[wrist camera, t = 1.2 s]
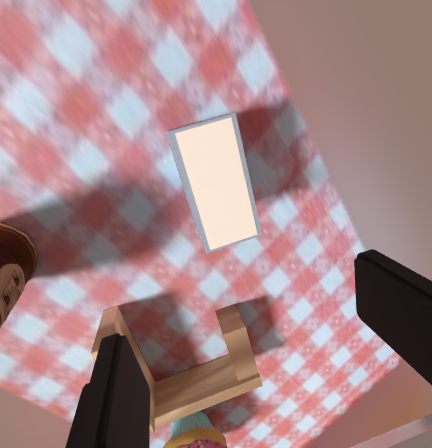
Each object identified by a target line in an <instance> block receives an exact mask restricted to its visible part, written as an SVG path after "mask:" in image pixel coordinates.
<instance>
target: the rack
mask: <svg viewBox="0 0 432 448" xmlns="http://www.w3.org/2000/svg"><path fill="white" fill-rule="evenodd" d="M216 315H217V318H218V321H219V324H220V327H221V330H222V333H223V336H224V339H225V342H226V346H227V349H228V352H229V354H228V355H226V356H223V357H220V358H218V359H215V360H212V361H210V362H207V363H204V364H202V365H199V366H196V367H194V368H191V369H188V370H186V371H183V372H181V373H178V374H175V375H173V376H170V377H167V378H165V379H162V380H159V381H157V382H155V381H154V379H153V377H152V375H151V373H150V371H149V369H148V367H147V365H146V363H145V361H144V358H143V356H142V354H141V352H140V350H139V348H138V346H137V344H136V342H135V340H134V338H133V336H132V334H131V332H130V330H129V328H128V326H127V324H126V322H125V320H124V318H123V316H122V314H121V312H120V310H119V308H118V306H115V307H112V308H109V309H107V310H104V311H103V315H102V318H101V321H100V325H99V328H98V331H97V335H96V338H95V341H94V345H93V348H92V351H91V354H92V356H93V358H94V360H95V361H96V357H97V353H98V350H99V346H100V342H101V339H102V338H103V337H106V336H110V335H113V334H116V333H119V334H120V335H121V336H123V335H125V336H126V337H127V339H128V341H129V343H130V346H131V348H132V350H133V352H134V354H135V356H136V359H137V361H138V363H139V365H140V367H141V369H142V372H143V374H144V376H145V378H146V380H147V382H148V385H149V388H150V434H152V433H154V432H155V428H157V427H160V426H162V425H165V424H167V423H170V422H172V421H175V420H177V419H180V418H182V417H185V416H188V415H190V414H193V413H195V412H198V411H200V410H203V409H205V408H208V407H210V406H213V405H215V404H218V403H220V402H223V401H225V400H228V399H231V398H233V397H236V396H238V395H241V394H243V393H246V392H248V391H251V390H253V389H256V388H258V387H261V386H263V385H262V381H261V378H260V375H259V372H258V369H257V365H256V362H255V358H254V355H253V351H252V348H251V344H250V341H249V337H248V334H247V330H246V327H245V324H244V322H243V320H242V318H241V315H240V313H239V311H238V309H237V306H236V304H234V305H231V306H228V307H225V308H223V309H220V310H217V311H216Z"/></svg>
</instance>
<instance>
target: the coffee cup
mask: <svg viewBox="0 0 432 448" xmlns="http://www.w3.org/2000/svg"><path fill="white" fill-rule="evenodd" d="M36 265H37V254H36V249H35V246H34V244H33V243H32V242H31V240H30V239H29V237H28V235H27V234H26V233H24V232H22V231H20V230H17V229H15V228H14V227H13V226H10V225H4V224H2V223H0V327H1V326H2V324H3V323H4V322H5V320H6V319H7V317H8V315H9V313H10V312H11V310H12V309H13V307H14V305H15V304H16V302H17V301H18V299H19V297H20V296H21V294H22V292H23V290H24V287H25V285H26V283H27V282H28V280H29V279H30V278H31V276H32V275H33V273H34V271H35V269H36Z"/></svg>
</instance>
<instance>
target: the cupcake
mask: <svg viewBox="0 0 432 448" xmlns="http://www.w3.org/2000/svg"><path fill="white" fill-rule="evenodd" d="M163 448H227V445H226V439H225V437H224V436H223V435H222V434H221V433H220V432H219V431H218V430H216V429H215V428H213V426H212V424H211V423H210V421H209V419H208V417H207V415H206V414H205V413H204V412H202V411H198V412H195V413H193V414H190V415H188V416H185V417H182V418H180V419H177V420H175V421H174V424H173V428H172V433H171V437H170V440H169V441H168V442H167V443H166V444H165V445H164V447H163Z"/></svg>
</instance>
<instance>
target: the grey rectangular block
mask: <svg viewBox="0 0 432 448" xmlns="http://www.w3.org/2000/svg"><path fill="white" fill-rule="evenodd" d="M165 132H166V135H167V138H168V141H169V145H170V148H171V151H172V154H173V157H174V160H175V164H176V167H177V170H178V173H179V176H180V179H181V183H182V186H183V189H184V192H185V195H186V198H187V202H188V205H189V208H190V211H191V214H192V217H193V221H194V223H195V226H196V228H197V231H198V233H199V236H200V238H201V241H202V243H203V246H204V248H205V251H206V253H210V252H213V251H216V250H219V249H222V248H225V247H228V246H231V245H234V244H237V243H240V242H243V241H246V240H249V239H252V238H255V237H258V236H261V235H262V232H261V227H260V223H259V218H258V213H257V209H256V204H255V200H254V195H253V190H252V186H251V181H250V177H249V172H248V167H247V163H246V158H245V154H244V149H243V145H242V140H241V135H240V131H239V126H238V122H237V117H236V113H232V114H227V115H223V116H219V117H215V118H211V119H207V120H204V121H200V122H197V123H193V124H190V125H186V126H183V127H179V128H176V129H172V130H169V131H165Z"/></svg>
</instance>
